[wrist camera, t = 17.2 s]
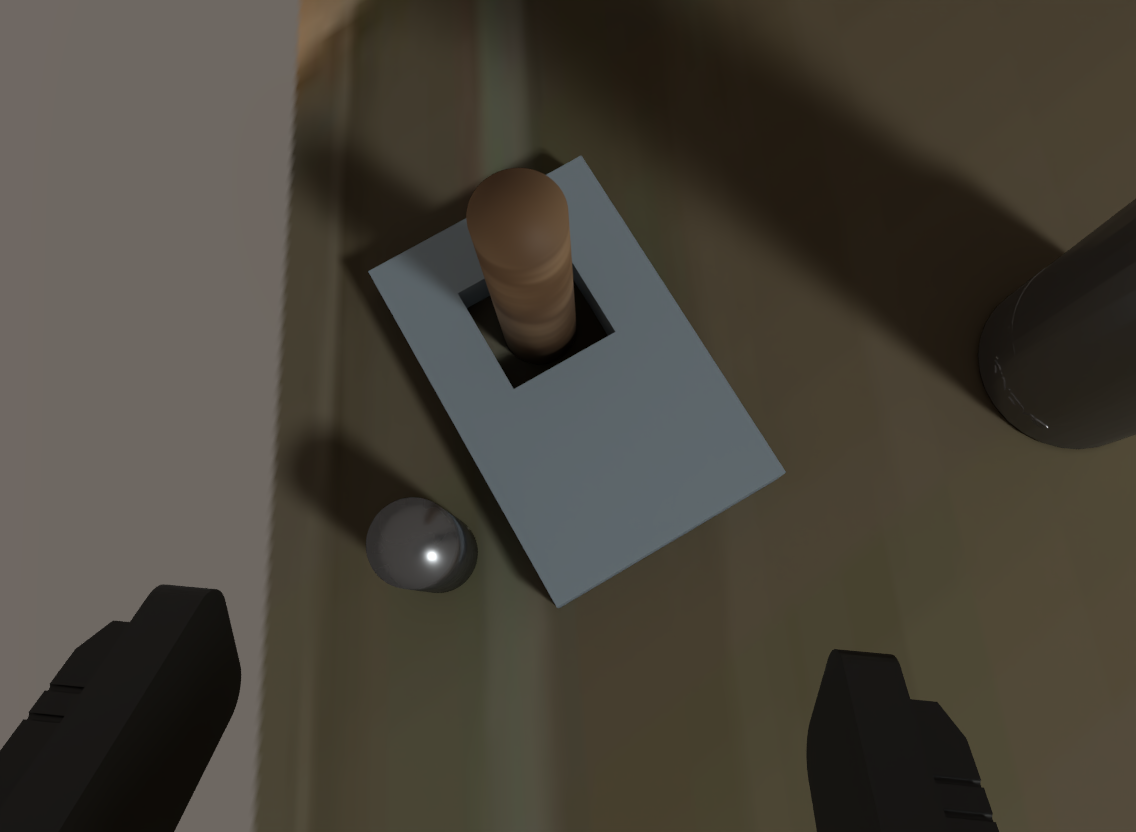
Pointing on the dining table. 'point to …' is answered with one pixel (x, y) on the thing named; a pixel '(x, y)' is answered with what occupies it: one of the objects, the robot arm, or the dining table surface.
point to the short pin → (420, 546)
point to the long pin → (526, 261)
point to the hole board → (584, 402)
